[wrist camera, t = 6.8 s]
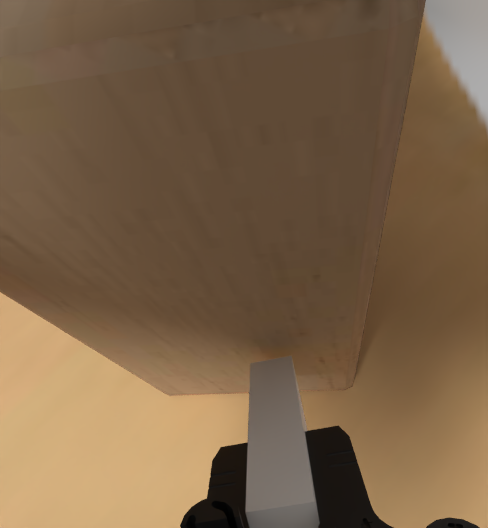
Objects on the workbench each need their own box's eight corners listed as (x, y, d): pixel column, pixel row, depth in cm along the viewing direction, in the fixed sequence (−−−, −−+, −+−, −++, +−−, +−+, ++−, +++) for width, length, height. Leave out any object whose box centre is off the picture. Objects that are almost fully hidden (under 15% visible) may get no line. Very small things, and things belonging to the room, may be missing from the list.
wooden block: (336, 223, 26) (342, -297, 9) (355, 391, 22) (446, -27, 4) (178, 238, 28) (-73, -182, 11) (164, 397, 23) (-326, 109, 6)
